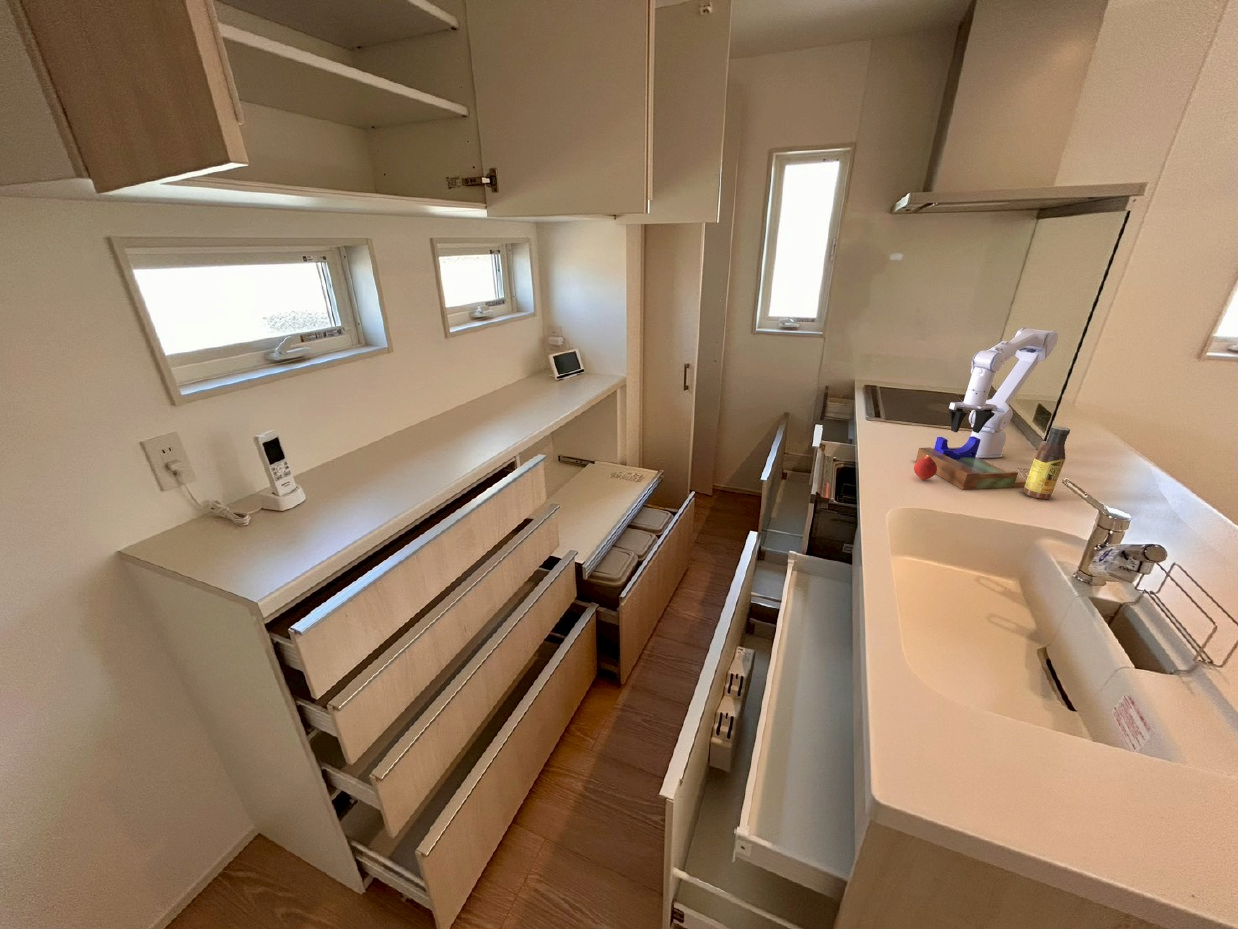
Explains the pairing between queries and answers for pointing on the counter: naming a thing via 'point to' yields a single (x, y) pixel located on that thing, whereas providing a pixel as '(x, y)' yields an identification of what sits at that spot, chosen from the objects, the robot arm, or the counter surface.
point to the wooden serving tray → (970, 471)
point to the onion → (925, 468)
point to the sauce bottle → (1047, 464)
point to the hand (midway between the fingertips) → (964, 431)
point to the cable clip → (962, 452)
